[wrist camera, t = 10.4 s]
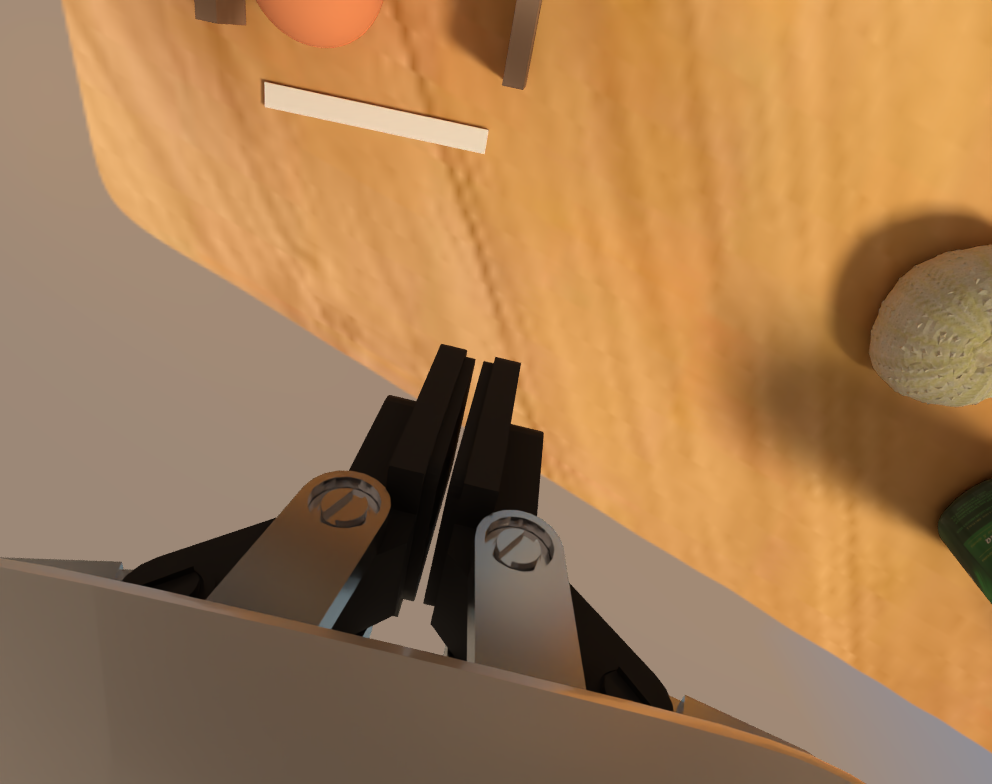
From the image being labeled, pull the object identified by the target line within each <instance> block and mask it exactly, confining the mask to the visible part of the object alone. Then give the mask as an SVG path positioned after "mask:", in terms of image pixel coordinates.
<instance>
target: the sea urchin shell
mask: <svg viewBox="0 0 992 784" xmlns="http://www.w3.org/2000/svg"><path fill="white" fill-rule="evenodd" d="M869 355H870V359H871V362H872V365H873V366H872V367H873V368H874V370H875V371H876V372H877V374H878V375H879V376H880V377H881V378H882V380H884V381H885V382H886V383H887V384H888V385H889V386H890V387H891V388H893V390H894V391H895V392H898V393H899V394H901V395H903V396H908V397H911V398H913V399H915V400H918V401H921V402H922V403H927V404H939V405H944V406H951V407H960V406H962V407H963V406H966V405H971V404H972V405H973V404H975V405H976V404H977V403H979V402H981V401H982V400H984V399H986V398H992V245H990V244H989V245H985V246H976V247H973V248H969V249H964V250H955V251H948V252H944V253H943V254H941V255H937V256H936V257H934V258H932V259H929V260H927V261H925V262H923V263H921V264H918V265H915V266H914V267H913V268H912V269H911V270H910V271H908V272H907V273H906V274H905V275H904V276H903V277H901V278H899V280H898V282H897V283H896V285H895V286H894V288H893V289H892V290H891V292H890V293H889V294H888V296H887V297H886V299H885V300H884V301H882V304H881V307H880V308H879V314H878V316H877V318H876V320H875V323H874V325H873V326H872V330H871V342H870V348H869Z"/></svg>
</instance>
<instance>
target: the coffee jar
mask: <svg viewBox="0 0 992 784" xmlns="http://www.w3.org/2000/svg"><path fill="white" fill-rule="evenodd" d="M938 533H939V535H940V537H941V539H942V540H943V542H944V543H945V544H946V546H947V547H948V548H949V550H950V551H951V552H952V554H953V555H954V556H955V558H956V559H957V560H958V561H959V563H960V564H961V565H962V567H963V568H964V569H965V571H966V572H967V573H968V574H969V576H970V577H971V578H972V579H973V581H974V582H975V583H976V585H977V586H978V587H979V588H980V590H981V591H982V592H983V593H984V595H985V596H986V597H987V599H988V600H989V601H990V602H991V604H992V479H989V480H986V481H984V482H982V483H980V484H978V485H976V486H974V487H972V488H971V489H969V490H967V491H966V492H965V493H963V494H962V495H961V496H959V497H958V498H957V499H955V500H954V502H953V503H952V504H951V505H950V506H949V507H948V508H947V509H946V510H945V511H944V513H943V514H942V516H941V518H940V519H939V521H938Z"/></svg>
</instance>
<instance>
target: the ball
mask: <svg viewBox="0 0 992 784" xmlns="http://www.w3.org/2000/svg"><path fill="white" fill-rule="evenodd" d="M256 1H257V3H258V5H259V6H260V8H261V9H262V11H263V12H264V14H265V15H266V16H267V17H268V19H269V20H270V21H271V22H272V23H273V24H274V25H275V26H276V27H277V28H278V29H280V30H281V31H282V32H283V33H285V34H286V35H288V36H289V37H291V38H293V39H294V40H296V41H298V42H301V43H303V44H306V45H309V46H313V47H319V48H334V47H339V46H343V45H346V44H349V43H351V42H353V41H354V40H356V39H358V38H359V37H360V36H362V35H363V34H364V33H365V32H366V31H367V30H368V29H369V28H370V26H371V25H372V24H373V22H374V21H375V19H376V17H377V15H378V13H379V11H380V9H381V6H382V3H383V0H256Z"/></svg>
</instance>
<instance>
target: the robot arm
mask: <svg viewBox="0 0 992 784" xmlns="http://www.w3.org/2000/svg"><path fill="white" fill-rule="evenodd" d="M466 355H467V350H465V349H461V348H457V347H453V346H448V345H444V344H441V345H440V348H439V350H438V352H437V355H436V357H435V359H434V362H433V364H432V366H431V369H430V371H429V373H428V376H427V378H426V380H425V383H424V385H423V387H422V389H421V392H420V394H419V396H418V399H417V401H412V400H409V399H404V398H400V397H396V396H392V395H389V396H387V398H386V400H385V401H384V403H383V405H382V407H381V409H380V411H379V413H378V415H377V417H376V419H375V421H374V423H373V425H372V427H371V429H370V431H369V433H368V434H367V437H366V438H365V440H364V442H363V444H362V446H361V448H360V450H359V452H358V454H357V456H356V458H355V460H354V462H353V464H352V466H351V468H350V470H349V471H334V472H329V473H324V474H322V475H320V476H317V477H315V478H313V479H312V480H311V481H309V482H308V483H307V484H306V485H305V486H303V488H302V489H301V490H300V491H299V492H298V494H297V495H296V496H295V497H294V498H293V499H292V500H291V501H290V503H289V504H288V505H287V506H286V507H285V508H284V510H283V511H282V512H281V513H280V514H279V515H278V516H277V518H274V519H271V520H268V521H265V522H262V523H259V524H256V525H253V526H250V527H247V528H244V529H241V530H238V531H235V532H232V533H229V534H226V535H223V536H220V537H217V538H214V539H211V540H208V541H205V542H202V543H199V544H196V545H193V546H190V547H187V548H184V549H181V550H178V551H175V552H172V553H169V554H166V555H163V556H160V557H157V558H155V559H152V560H150V561H148V562H146V563H144V564H141V565H140V566H138V567H137V568H136V569H134V570H126V569H125V570H124V569H123V565H122V562H113V561H85V560H57V559H30V558H2V557H0V784H866V783H864V782H862V781H861V780H859V779H858V778H856V777H854V776H852V775H851V774H849V773H847V772H845V771H843V770H841V769H839V768H837V767H835V766H832V765H830V764H829V763H827V762H824V761H822V760H820V759H818V758H816V757H815V756H813V755H812V754H810V753H809V752H807V751H805V750H803V749H801V748H799V747H797V746H795V745H793V744H790V743H788V742H786V741H784V740H782V739H780V738H778V737H775V736H773V735H771V734H769V733H766V732H764V731H762V730H760V729H758V728H756V727H754V726H751V725H749V724H747V723H745V722H743V721H741V720H739V719H736V718H734V717H732V716H730V715H728V714H726V713H723V712H721V711H719V710H717V709H715V708H712V707H710V706H708V705H706V704H704V703H702V702H700V701H697V700H695V699H693V698H691V697H689V696H687V695H685V696H684V697H683V699H682V700H681V701H680V700H678V699H676V698H674V697H671V696H669V695H668V693H667V690H666V689H665V687H664V686H663V684H662V683H661V682H660V680H659V679H658V678H657V676H656V675H655V674H654V673H653V672H652V671H651V670H650V669H649V668H648V666H647V665H646V664H645V663H644V662H643V661H642V660H641V659H640V658H639V657H638V656H637V655H636V654H635V653H634V652H633V651H632V649H631V648H630V647H629V646H628V645H627V644H626V643H625V642H624V641H623V640H622V639H621V638H620V637H619V635H618V634H617V633H616V632H615V631H614V630H613V629H612V628H611V627H610V626H609V625H608V624H607V623H606V622H605V621H604V619H602V617H601V616H600V615H599V614H598V613H597V612H596V611H595V610H594V609H593V608H592V607H591V606H590V604H589V603H587V602H586V600H585V599H584V598H583V597H582V596H581V595H580V594H579V593H578V592H577V591H576V590H575V589H574V587H573V586H572V585H571V584H570V583H569V580H568V573H567V567H566V561H565V555H564V548H563V545H562V542H561V540H560V537H559V536H558V534H557V533H556V532H555V531H554V529H553V528H552V527H551V526H550V525H549V524H547V523H546V522H545V521H544V520H542V519H540V518H539V517H537V509H538V497H539V484H540V473H541V461H542V449H543V435H544V433H543V432H542V431H538V430H533V429H529V428H525V427H521V426H517V425H513V424H511V419H512V413H513V407H514V401H515V395H516V389H517V383H518V377H519V371H520V366H521V363H519V362H515V361H511V360H506V359H502V358H498V357H495V361H494V363H489V362H485V361H484V362H483V365H482V369H481V372H480V376H479V379H478V383H477V387H476V390H475V394H474V397H473V401H472V404H471V408H470V412H469V415H468V419H467V422H466V426H465V429H464V433H463V437H462V440H461V444H460V447H459V451H458V454H457V458H456V461H455V465H454V469H453V472H452V476H451V481H450V485H449V489H448V493H447V497H446V502H445V507H444V511H443V515H442V521H441V525H440V529H439V534H438V538H437V543H436V548H435V552H434V557H433V561H432V566H431V570H430V575H429V580H428V585H427V589H426V593H425V598H424V604H427V605H431V606H435V607H434V611H433V615H432V620H431V625H432V626H433V628H434V629H435V630H436V632H437V633H438V635H439V636H440V637H441V639H442V640H443V642H444V643H445V645H446V646H445V650H444V655H443V656H442V655H438V654H434V653H429V652H425V651H421V650H417V649H413V648H408V647H403V646H400V645H396V644H391V643H387V642H383V641H378V640H374V639H370V635H371V632H372V627H373V625H375V624H377V623H379V622H381V621H383V620H385V619H387V618H389V617H391V616H396V617H398V614H399V611H400V608H401V604H402V601H403V599H406V600H411V601H414V600H415V597H416V593H417V590H418V586H419V582H420V579H421V576H422V572H423V568H424V565H425V561H426V558H427V554H428V551H429V547H430V544H431V540H432V537H433V533H434V530H435V526H436V523H437V519H438V515H439V512H440V509H441V505H442V501H443V498H444V495H445V491H446V488H447V484H448V481H449V477H450V473H451V469H452V465H453V461H454V457H455V452H456V448H457V443H458V438H459V433H460V429H461V425H462V420H463V416H464V411H465V406H466V402H467V397H468V393H469V388H470V383H471V379H472V374H473V370H474V365H475V359H473V358H469V357H466Z"/></svg>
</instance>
